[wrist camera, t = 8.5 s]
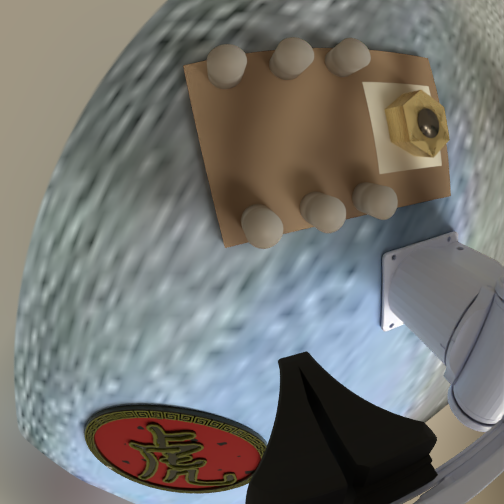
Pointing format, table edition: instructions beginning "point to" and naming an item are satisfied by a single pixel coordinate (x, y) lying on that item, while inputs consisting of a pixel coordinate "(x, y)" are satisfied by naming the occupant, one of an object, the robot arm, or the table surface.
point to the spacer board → (307, 137)
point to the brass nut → (417, 124)
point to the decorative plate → (175, 447)
